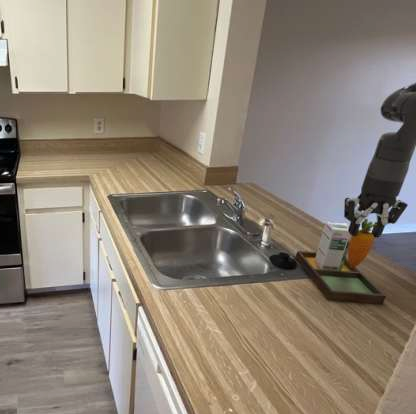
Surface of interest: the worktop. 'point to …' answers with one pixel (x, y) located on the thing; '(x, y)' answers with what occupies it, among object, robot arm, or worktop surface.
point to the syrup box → (333, 246)
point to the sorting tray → (341, 281)
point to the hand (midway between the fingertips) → (363, 235)
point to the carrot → (360, 244)
